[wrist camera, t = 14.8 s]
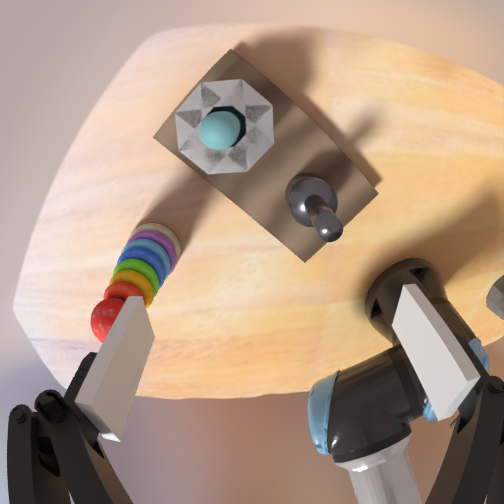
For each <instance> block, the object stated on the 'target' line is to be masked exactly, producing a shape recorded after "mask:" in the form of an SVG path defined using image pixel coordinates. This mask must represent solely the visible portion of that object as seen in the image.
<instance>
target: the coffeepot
mask: <svg viewBox="0 0 504 504" xmlns="http://www.w3.org/2000/svg"><path fill="white" fill-rule="evenodd" d="M486 303H487V307H488V308H489V309H490V310H491V311H493V312H494V313H495V314H496V315H498V316H499V317H500V318H501V319H503V320H504V277H502V278H500V279H499V280H498V281H497V282H496V283H495V284H494V285H493V286H492V288H491V289H490V291H489V293H488V296H487V299H486Z"/></svg>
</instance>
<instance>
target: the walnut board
mask: <svg viewBox="0 0 504 504" xmlns="http://www.w3.org/2000/svg"><path fill="white" fill-rule="evenodd" d="M237 79H242V80H244V81H245V82H246V83H247V84H248V85H250V86H251V87H252V88H253V89H254V90H256V91H257V92H258V93H259V94H260V95H261V96H263V97H264V98H265V99H266V100H267V101H268V102H269V103H271V104H272V105H273V132H274V144H273V145H272V146H271V147H270V148H269V149H268V150H267V151H266V152H265V153H264V154H263V155H262V156H261V158H260V159H259V160H258V161H257V162H256V163H255V164H254V165H253V166H252V167H251V168H250V169H249V170H248V171H247V172H235V173H220V174H207V173H206V172H205V171H203V170H202V169H201V168H200V167H198V166H197V165H196V164H195V163H193V162H192V161H191V160H190V159H188V158H187V157H186V156H185V155H183V154H182V153H181V152H180V151H178V141H177V131H176V120H175V112H176V111H177V110H178V109H179V107H180V106H181V105H182V104H183V103H184V101H185V100H186V99H187V98H188V97H189V96H190V94H191V93H192V92H193V91H194V90H195V89H196V88H197V87H198V85H199V84H200V83H203V82H212V81H224V80H237ZM153 138H154V139H155V140H157V141H158V142H159V143H161V144H162V145H163V146H164V147H166V148H167V149H168V150H169V151H171V152H172V153H173V154H174V155H176V156H177V157H178V158H179V159H181V160H182V161H183V162H184V163H186V164H187V165H188V166H189V167H191V168H192V169H193V170H194V171H196V172H197V173H198V174H199V175H201V176H202V177H203V178H204V179H206V180H207V181H208V182H209V183H211V184H212V185H213V186H214V187H215V188H217V189H218V190H219V191H220V192H222V193H223V194H224V195H225V196H226V197H228V198H229V199H230V200H231V201H232V202H234V203H235V204H236V205H237V206H239V207H240V208H241V209H242V210H243V211H245V212H246V213H247V214H248V215H249V216H251V217H252V218H253V219H254V220H255V221H257V222H258V223H259V224H260V225H261V226H262V227H264V228H265V229H266V230H267V231H268V232H270V233H271V234H272V235H273V236H274V237H275V238H277V239H278V240H279V241H280V242H281V243H283V244H284V245H285V246H286V247H287V248H288V249H290V250H291V251H292V252H293V253H294V254H295V255H297V256H298V257H299V258H300V259H301V260H302V261H304V262H306V261H307V260H308V259H310V258H311V257H312V256H313V255H314V254H315V253H316V252H317V251H318V250H319V249H321V248H322V247H323V246H324V245H325V244H326V243H327V242H325V241H323V240H322V239H321V238H320V237H319V235H318V233H317V231H316V229H315V227H306V226H303V225H301V224H299V223H298V222H297V221H296V220H295V219H294V218H293V216H292V214H291V212H290V209H289V207H288V204H287V202H286V198H285V191H286V187H287V185H288V183H289V182H290V180H291V179H292V178H294V177H295V176H296V175H298V174H301V173H306V172H309V173H315V174H317V175H319V176H321V177H322V178H323V179H324V180H325V181H326V182H327V183H328V184H329V185H330V186H331V187H332V188H333V189H334V191H335V193H336V195H337V198H338V207H337V211H336V213H335V215H336V216H337V217H338V219H339V220H340V221H341V223H342V225H343V227H344V226H345V225H347V224H348V223H349V222H350V221H351V220H352V219H353V218H354V217H355V216H356V215H357V214H358V213H359V212H360V211H361V210H362V209H363V208H364V207H365V206H367V205H368V204H369V203H370V202H371V201H372V200H373V199H374V198H375V197H376V196H377V195H378V192H377V191H376V190H375V189H374V187H373V186H372V185H371V184H370V183H369V181H368V180H367V179H366V178H365V177H364V175H363V174H362V173H361V172H360V171H359V170H358V168H357V167H356V166H355V165H354V164H353V163H352V162H351V160H350V159H349V158H348V157H347V156H346V155H345V154H344V153H343V152H342V150H341V149H340V148H339V147H338V146H337V145H336V144H335V143H334V142H333V141H332V140H331V139H330V138H329V137H328V136H327V134H326V133H325V132H324V131H323V130H322V129H321V128H320V127H319V126H318V125H317V124H316V123H315V122H314V121H313V120H312V119H311V118H310V117H309V116H308V115H307V114H306V113H305V112H303V111H302V110H301V109H300V108H299V107H298V106H297V105H296V104H295V103H294V102H293V101H292V100H291V99H290V98H289V97H287V96H286V95H285V94H284V93H283V92H282V91H281V90H280V89H279V88H277V87H276V86H275V85H274V84H273V83H272V82H271V81H269V80H268V79H267V78H266V77H265V76H264V75H262V74H261V73H260V72H259V71H258V70H256V69H255V68H254V67H253V66H251V65H250V64H249V63H248V62H246V61H245V60H244V59H243V58H241V57H240V56H239V55H237V54H236V53H235V52H234V51H232V50H231V49H230V50H229V51H228V52H227V53H226V54H225V55H224V56H223V57H222V58H221V59H220V60H219V61H218V62H217V63H216V64H215V65H214V66H213V67H212V68H211V69H210V70H209V71H208V72H207V73H206V74H205V76H204V77H203V78H202V79H201V80H200V81H199V82H198V83H197V84H196V85H195V87H194V88H193V89H192V90H191V91H190V92H189V93H188V94H187V96H186V97H185V98H184V99H183V100H182V102H181V103H180V104H179V105H178V106H177V107H176V109H175V110H174V111H173V112H172V114H171V115H170V116H169V117H168V119H167V120H166V121H165V122H164V124H163V125H162V126H161V127H160V129H159V130H158V131H157V133H156V134H155V135H154V137H153Z"/></svg>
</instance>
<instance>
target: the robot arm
mask: <svg viewBox="0 0 504 504" xmlns="http://www.w3.org/2000/svg"><path fill="white" fill-rule="evenodd" d="M365 311H366V314H367V317H368V319H369V321H370V323H371V325H372V326H373V327H374V328H375V329H376V330H377V331H378V332H379V333H380V334H381V335H383V336H384V337H385V338H386V339H387V340H389V341H390V342H391V343H392V344H393V346H394V347H392V348H390V349H388V350H385V351H383V352H381V353H379V354H377V355H375V356H373V357H371V358H369V359H367V360H365V361H363V362H361V363H358V364H356V365H354V366H352V367H349V368H347V369H345V370H342V371H340V370H338V371H336V372H335V373H334V374H332V375H330V376H328V377H326V378H324V379H321V380H319V381H318V382H316V383H315V384H314V385H313V386H312V388H311V390H310V393H309V399H308V417H309V425H310V430H311V435H312V438H313V442H314V443H315V444H316V449H317V450H318V452H319V453H321V454H326V455H329V454H332V455H333V459H334V462H335V464H336V465H338V466H340V467H343V468H345V469H347V470H348V471H349V474H350V477H351V480H352V484H353V487H354V490H355V494H356V497H357V501H358V504H422V503H421V499H420V495H419V491H418V488H417V484H416V481H415V477H414V473H413V470H412V467H411V463H410V460H409V456H408V453H407V450H406V446H407V443H408V441H409V440H410V438H411V435H412V430H411V428H410V424H409V422H411V421H412V420H414V419H416V418H418V417H420V416H424V418H425V419H427V421H429V422H435V421H440V420H443V419H445V418H448V417H451V416H452V415H453V414H454V412H455V411H456V410H457V409H458V410H459V412H460V414H459V415H458V416H457V418H456V419H455V420H454V421H453V422H452V424H451V425H450V427H453V425H454V424H455V423H456V424H455V427H454V431H453V434H452V437H451V440H450V443H449V446H448V450H447V452H446V455H445V458H444V461H443V463H442V466H441V469H440V471H439V474H438V476H437V478H436V481H435V483H434V485H433V488H432V490H431V492H430V495H429V496H428V498H427V501H426V503H425V504H484V501H485V498H486V495H487V501H486V504H504V382H503V381H502V380H501V379H500V378H498V377H496V376H489V374H488V370H489V358H488V355H487V354H486V352H485V350H484V349H483V347H482V345H481V341H480V340H479V338H477V337H476V336H475V334H474V333H473V332H472V330H471V329H470V327H469V326H468V325H467V324H466V322H465V321H464V320H463V318H462V317H461V316H460V314H459V313H458V312H457V311H456V309H455V308H454V307H453V306H452V304H451V303H450V302H449V300H448V298H447V295H446V292H445V289H444V285H443V282H442V279H441V277H440V275H439V273H438V272H437V270H436V269H435V268H434V267H433V266H432V265H431V264H430V263H429V262H427V261H425V260H422V259H407V260H404V261H401V262H399V263H396V264H395V265H393V266H391V267H390V268H388V269H387V270H386V271H384V272H383V273H382V274H381V275H380V276H379V277H378V278H377V280H376V281H375V282H374V283H373V285H372V287H371V288H370V290H369V292H368V295H367V298H366V302H365ZM154 338H155V336H154V333H153V330H152V327H151V324H150V321H149V317H148V314H147V311H146V308H145V304H144V301H143V297H142V296H129V297H128V298H127V300H126V302H125V304H124V305H123V307H122V309H121V311H120V312H119V314H118V316H117V318H116V320H115V321H114V323H113V325H112V327H111V329H110V331H109V333H108V334H107V336H106V338H105V340H104V342H103V344H102V346H101V348H100V350H99V352H98V353H94V352H90V353H89V354H88V355H87V356H86V357H85V358H84V359H83V360H82V362H81V364H80V366H79V368H78V370H77V372H76V373H75V377H73V379H72V381H71V383H70V385H69V387H68V389H67V392H66V394H65V396H64V398H63V397H62V396H61V395H60V393H59V392H57V391H56V390H51V389H50V390H46V391H44V392H42V393H40V394H39V396H38V397H37V398H36V400H35V409H36V410H37V411H38V412H33V411H32V410H31V409H30V408H29V407H28V406H26V405H22V404H21V405H17V406H16V407H15V408H13V409H12V411H11V412H10V416H9V423H8V440H7V473H8V474H7V475H8V492H9V503H10V504H71V501H70V496H69V492H70V494H71V496H72V499H73V501H74V503H75V504H133V502H132V500H131V499H130V497H129V496H128V494H127V493H126V491H125V489H124V487H123V486H122V484H121V482H120V481H119V479H118V477H117V475H116V473H115V471H114V469H113V468H112V466H111V464H110V462H109V460H108V458H107V456H106V454H105V452H104V450H103V448H102V446H101V444H100V441H99V440H98V439H97V437H98V433H99V432H100V433H101V434H102V435H103V437H104V438H106V439H110V440H115V441H119V442H121V439H122V435H123V432H124V429H125V425H126V422H127V419H128V416H129V412H130V409H131V406H132V403H133V400H134V397H135V393H136V390H137V387H138V384H139V381H140V378H141V375H142V372H143V370H144V367H145V364H146V361H147V358H148V355H149V352H150V350H151V347H152V344H153V341H154ZM68 489H69V490H68Z"/></svg>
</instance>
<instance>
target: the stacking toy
mask: <svg viewBox="0 0 504 504" xmlns="http://www.w3.org/2000/svg"><path fill="white" fill-rule="evenodd" d="M180 253H181V248H180V244H179V241H178V239H177V237H176V236H175V234H174V233H173V232H172V231H171V230H170V229H168V228H167V227H165V226H163V225H160V224H156V223H146V224H142V225H140V226H138V227H137V228H136V229H135V230H134V231H133V232H132V233H131V235H130V237H129V239H128V242H127V245H126V246H125V247H124V249H123V251H122V253H121V256H120V257H119V259H118V262H117V266H116V267H115V269H114V272H113V277H112V278H111V281H110V284H109V286H108V287H107V289H106V290H105V293H104V300H103V301H101V302H100V303H98V304H97V305H96V307H95V308H94V310H93V312H92V315H91V327H92V331H93V333H94V335H95V336H96V338H97V339H98V340H99V341H100V342H102V343H103V342H104V340H105V338H106V336H107V334H108V333H109V331H110V329H111V327H112V325H113V323H114V321H115V320H116V318H117V316H118V314H119V312H120V311H121V309H122V307H123V305H124V304H125V302H126V300H127V298H128V297H129V296H142V297H143V301H144V304H145V308H148V307H149V306H150V305H151V303H152V301H153V298H154V297H155V296H156V294H157V292H158V289H160V287H161V286H162V285H163V283H164V281H165V279H166V278H167V277H168V275H170V274H171V273H172V271H173V270H174V268H175V266H176V264H177V263H178V261H179V258H180Z"/></svg>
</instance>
